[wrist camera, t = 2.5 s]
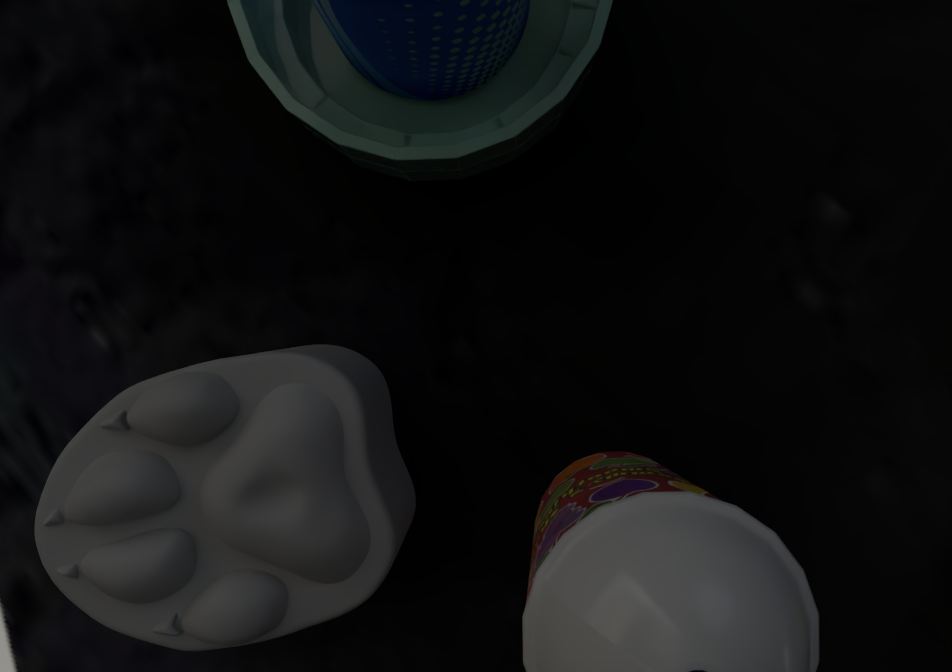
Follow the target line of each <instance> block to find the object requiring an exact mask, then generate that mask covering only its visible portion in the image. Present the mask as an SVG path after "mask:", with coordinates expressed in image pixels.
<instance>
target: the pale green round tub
mask: <svg viewBox="0 0 952 672" xmlns="http://www.w3.org/2000/svg"><path fill="white" fill-rule="evenodd" d="M227 2H228V6H229V9H230V12H231V14H232V17H233V20H234V23H235V25H236V28H237V31H238V34H239V37H240V39H241V42H242V45H243V48H244V50H245V53H246V56H247V59H248V60H249V62H250V64H251V65H252V66H253V68H254V69H255V70H256V71H257V73H258V74H259V75H260V77H261V78H262V79H263V80H264V82H265V83H266V84H267V86H268V87H269V88H270V89H271V91H272V92H273V93H274V95H275V96H276V97H277V98H278V100H279V101H280V102H281V104H282V105H283V106H284V107H285V109H286V110H287V111H289V112H290V113H291V114H292V115H293V116H294V117H295V118H296V119H297V120H298V121H299V122H300V123H301V124H302V125H304V126H305V127H306V128H307V129H308V130H309V131H310V132H311V133H312V134H313V135H314V136H315V137H316V138H318V139H319V140H321V141H322V142H324V143H325V144H327V145H328V146H330V147H331V148H333V149H334V150H335V151H337V152H338V153H340V154H341V155H343V156H344V157H346V158H347V159H349V160H350V161H352V162H353V163H355V164H356V165H359V166H360V167H363V168H366V169H370V170H373V171H376V172H380V173H383V174H387V175H390V176H394V177H397V178H401V179H404V180H408V181H428V180H455V179H463V178H468V177H470V176H473V175H476V174H478V173H481V172H484V171H487V170H489V169H492V168H495V167H498V166H500V165H503V164H506V163H508V162H511V161H513V160H515V159H517V158H518V157H519V156H520V155H522V154H523V153H524V152H526V151H527V150H528V149H529V148H531V147H532V146H533V145H534V144H536V143H537V142H538V141H540V140H541V139H542V138H543V137H545V136H546V135H547V134H549V133H550V132H551V131H552V130H554V129H555V128H556V126H558V124H559V123H560V121H561V120H562V118H563V117H564V115H565V114H566V112H567V111H568V109H569V108H570V106H571V105H572V103H573V102H574V100H575V99H576V97H577V96H578V94H579V93H580V92H581V90H582V89H583V87H584V86H585V84H586V82H587V80H588V77H589V74H590V72H591V69H592V66H593V63H594V61H595V58H596V55H597V52H598V50H599V47H600V44H601V41H602V37H603V34H604V30H605V27H606V23H607V20H608V17H609V13H610V10H611V6H612V3H613V0H530V5H529V13H528V19H527V23H526V27H525V30H524V33H523V36H522V38H521V40H520V42H519V44H518V47H517V48H516V50H515V52H514V53H513V55H512V56H511V58H510V59H509V60H508V62H507V63H506V64H505V65H504V66H503V68H502V69H501V70H500V71H499V72H498V73H497V74H496V75H494V76H493V77H492V78H491V79H490V80H488V81H487V82H486V83H484V84H483V85H481V86H479V87H478V88H476V89H474V90H472V91H470V92H468V93H465V94H463V95H460V96H457V97H453V98H449V99H444V100H435V101H421V100H412V99H407V98H403V97H399V96H396V95H394V94H391V93H388V92H386V91H384V90H382V89H380V88H379V87H377V86H375V85H374V84H372V83H371V82H369V81H368V80H367V79H365V78H364V77H363V76H362V75H361V74H360V73H359V72H357V70H356V69H355V68H354V67H353V66H352V65H351V64H350V62H349V61H348V60H347V58H346V57H345V56H344V54H343V52H342V51H341V49H340V47H339V46H338V44H337V43H336V41H335V39H334V38H333V36H332V34H331V33H330V31H329V30H328V28H327V26H326V25H325V23H324V21H323V20H322V18H321V16H320V15H319V13H318V12H317V10H316V8H315V7H314V5H313V3H312V2H311V0H227Z"/></svg>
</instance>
